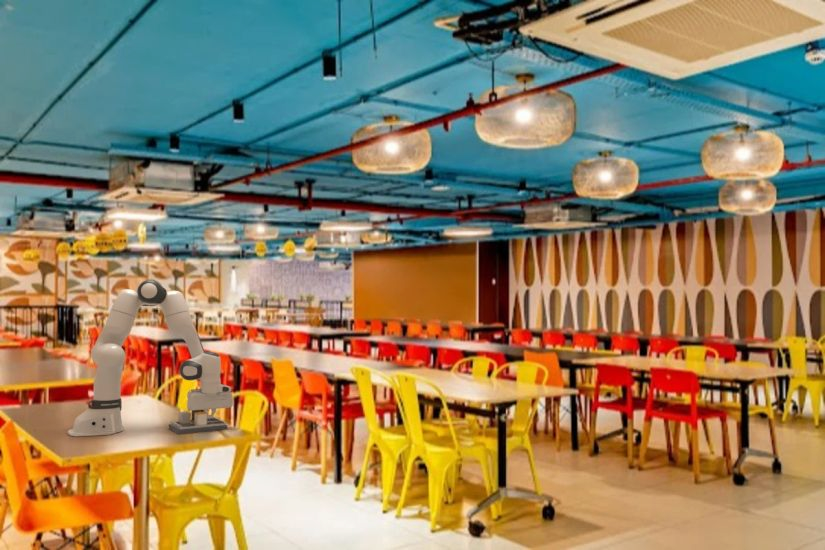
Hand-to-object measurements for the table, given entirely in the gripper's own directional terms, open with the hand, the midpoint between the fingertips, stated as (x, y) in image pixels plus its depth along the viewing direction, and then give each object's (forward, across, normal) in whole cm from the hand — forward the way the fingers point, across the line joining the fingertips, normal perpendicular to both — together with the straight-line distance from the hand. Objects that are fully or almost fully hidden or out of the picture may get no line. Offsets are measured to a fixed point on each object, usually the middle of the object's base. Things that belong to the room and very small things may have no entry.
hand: (209, 419), depth 332 cm
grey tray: (+5, -4, +4) cm, 7 cm away
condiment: (+5, +1, +23) cm, 23 cm away
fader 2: (+2, -4, 0) cm, 5 cm away
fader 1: (+2, -9, +8) cm, 12 cm away
